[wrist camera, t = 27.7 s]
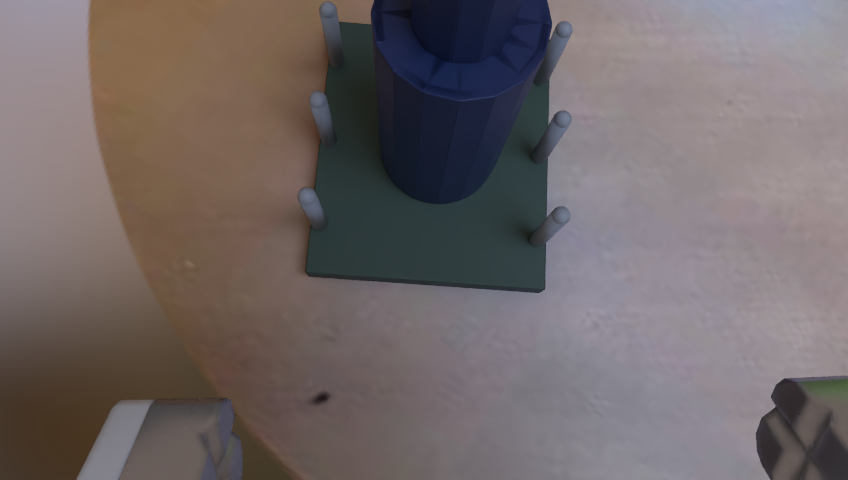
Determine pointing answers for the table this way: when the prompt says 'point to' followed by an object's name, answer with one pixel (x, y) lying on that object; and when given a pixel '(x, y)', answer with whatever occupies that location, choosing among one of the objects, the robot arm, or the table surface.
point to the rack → (415, 220)
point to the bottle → (452, 87)
